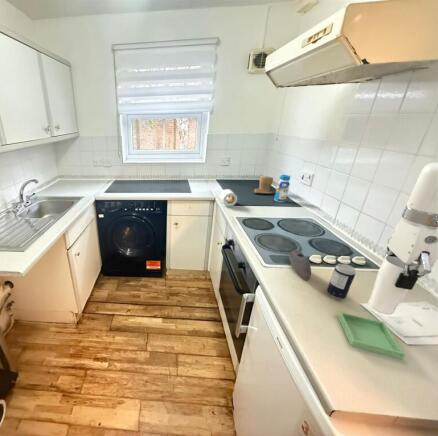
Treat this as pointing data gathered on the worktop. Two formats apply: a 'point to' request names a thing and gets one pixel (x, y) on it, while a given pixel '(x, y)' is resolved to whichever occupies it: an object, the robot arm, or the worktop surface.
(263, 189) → the brown cylinder on base
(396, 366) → the worktop surface
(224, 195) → the toilet paper
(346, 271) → the beverage can
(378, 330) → the green tray
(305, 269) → the perforated stone tool
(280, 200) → the beverage bottle
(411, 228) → the robot arm
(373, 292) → the white cup
